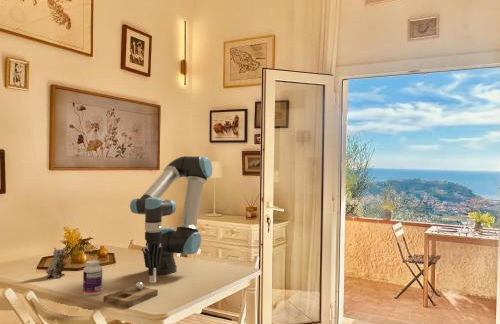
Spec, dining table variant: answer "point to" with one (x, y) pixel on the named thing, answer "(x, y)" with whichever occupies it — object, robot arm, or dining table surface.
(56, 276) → the figurine
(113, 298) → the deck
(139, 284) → the ball
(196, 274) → the dining table surface
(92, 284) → the pill bottle
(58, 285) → the dining table surface
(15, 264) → the dining table surface
